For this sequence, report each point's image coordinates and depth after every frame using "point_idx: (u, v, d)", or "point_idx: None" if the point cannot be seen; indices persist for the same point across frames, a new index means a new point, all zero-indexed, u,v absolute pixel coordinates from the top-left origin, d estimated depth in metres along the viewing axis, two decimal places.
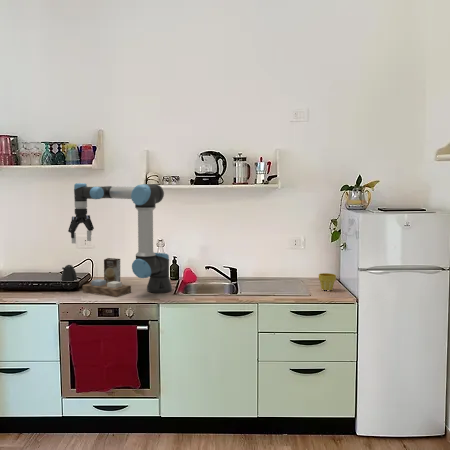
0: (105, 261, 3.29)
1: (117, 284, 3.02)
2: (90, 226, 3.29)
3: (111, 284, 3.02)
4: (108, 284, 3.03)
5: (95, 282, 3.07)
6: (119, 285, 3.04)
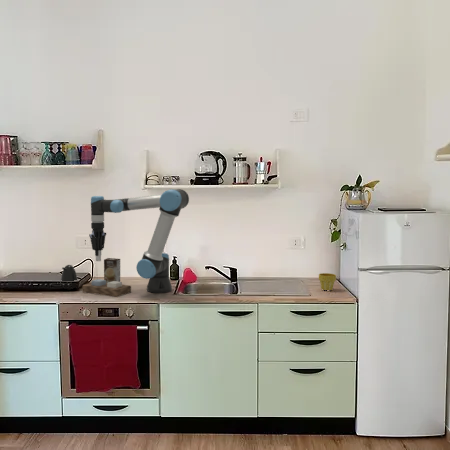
0: (105, 261, 3.29)
1: (117, 284, 3.02)
2: None
3: (111, 284, 3.02)
4: (108, 284, 3.03)
5: (95, 282, 3.07)
6: (119, 285, 3.04)
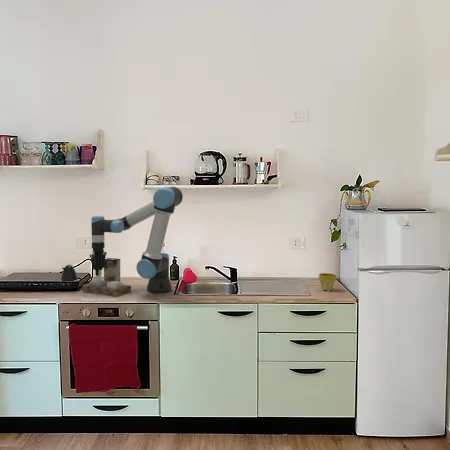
0: (105, 261, 3.29)
1: (117, 284, 3.02)
2: None
3: (111, 284, 3.02)
4: (108, 284, 3.03)
5: (95, 282, 3.07)
6: (119, 285, 3.04)
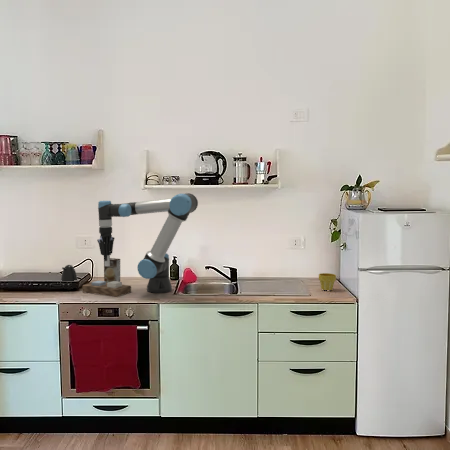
0: None
1: (117, 284, 3.02)
2: None
3: (111, 284, 3.02)
4: (108, 284, 3.03)
5: (95, 284, 3.07)
6: (119, 285, 3.04)
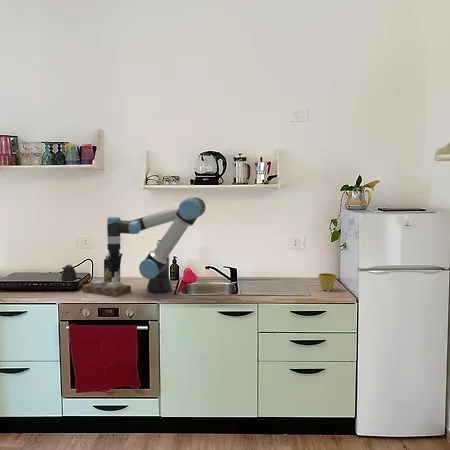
0: (105, 261, 3.29)
1: (117, 285, 3.02)
2: None
3: (111, 285, 3.02)
4: (108, 285, 3.03)
5: (95, 284, 3.07)
6: (119, 286, 3.04)
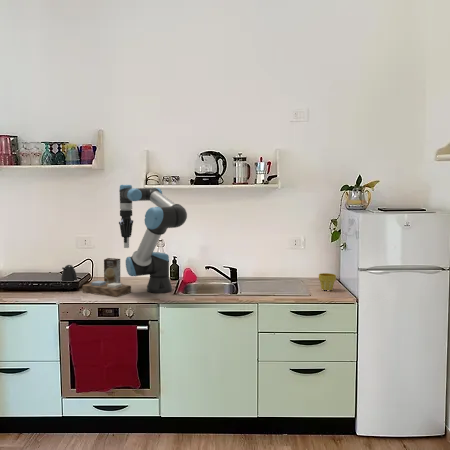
0: (105, 261, 3.29)
1: (117, 286, 3.03)
2: None
3: (111, 286, 3.02)
4: (108, 286, 3.03)
5: (95, 284, 3.07)
6: None
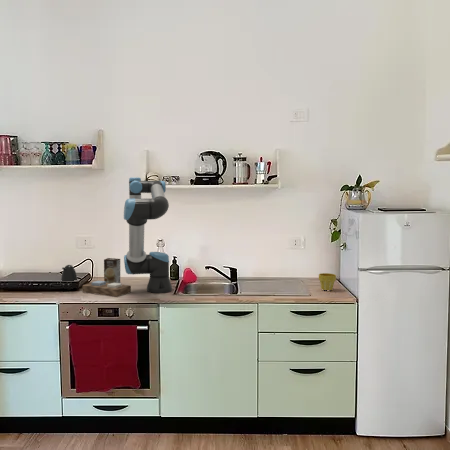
0: (105, 261, 3.29)
1: (117, 286, 3.03)
2: None
3: (111, 286, 3.02)
4: (108, 286, 3.03)
5: (95, 284, 3.07)
6: None
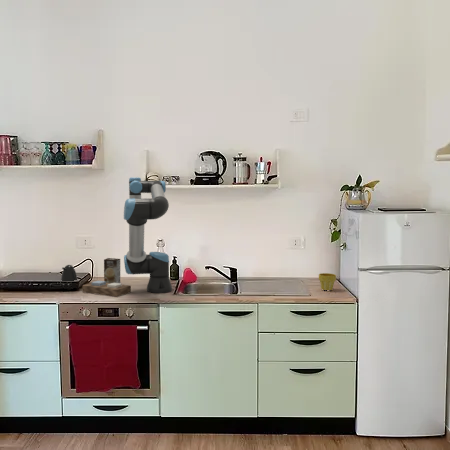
0: (105, 261, 3.29)
1: (117, 286, 3.03)
2: None
3: (111, 286, 3.02)
4: (108, 286, 3.03)
5: (95, 284, 3.07)
6: None
